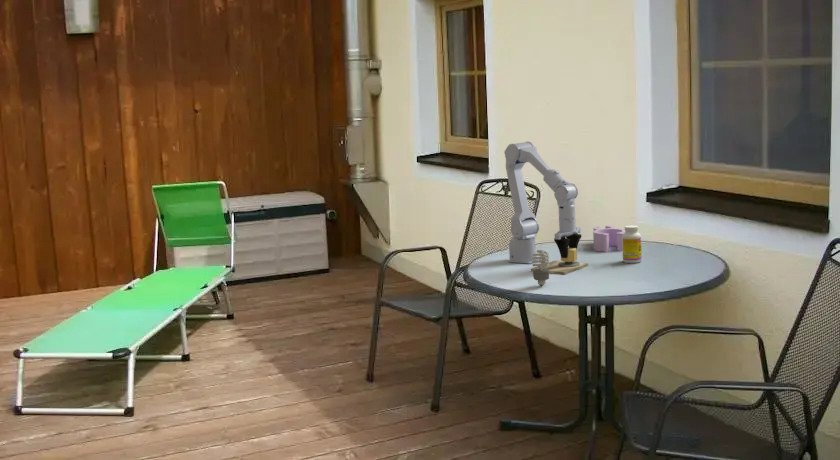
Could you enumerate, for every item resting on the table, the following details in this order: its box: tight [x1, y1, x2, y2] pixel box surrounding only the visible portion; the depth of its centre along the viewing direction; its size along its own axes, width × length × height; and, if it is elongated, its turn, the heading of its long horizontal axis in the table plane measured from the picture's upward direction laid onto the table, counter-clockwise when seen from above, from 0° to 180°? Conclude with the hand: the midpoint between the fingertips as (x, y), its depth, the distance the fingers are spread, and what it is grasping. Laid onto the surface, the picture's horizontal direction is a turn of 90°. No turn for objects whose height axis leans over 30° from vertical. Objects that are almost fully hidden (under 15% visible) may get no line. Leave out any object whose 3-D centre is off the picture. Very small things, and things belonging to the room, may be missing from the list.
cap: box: [560, 247, 578, 262], centre depth 343 cm, size 5×5×4 cm
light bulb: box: [531, 249, 550, 287], centre depth 316 cm, size 6×6×12 cm
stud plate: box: [530, 260, 589, 275], centre depth 342 cm, size 14×16×3 cm
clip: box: [592, 225, 625, 253], centre depth 375 cm, size 20×12×7 cm, turn 3°
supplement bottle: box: [622, 224, 643, 264], centre depth 345 cm, size 7×7×13 cm
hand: (568, 256), depth 343 cm, fingers closed on cap, 5 cm apart
